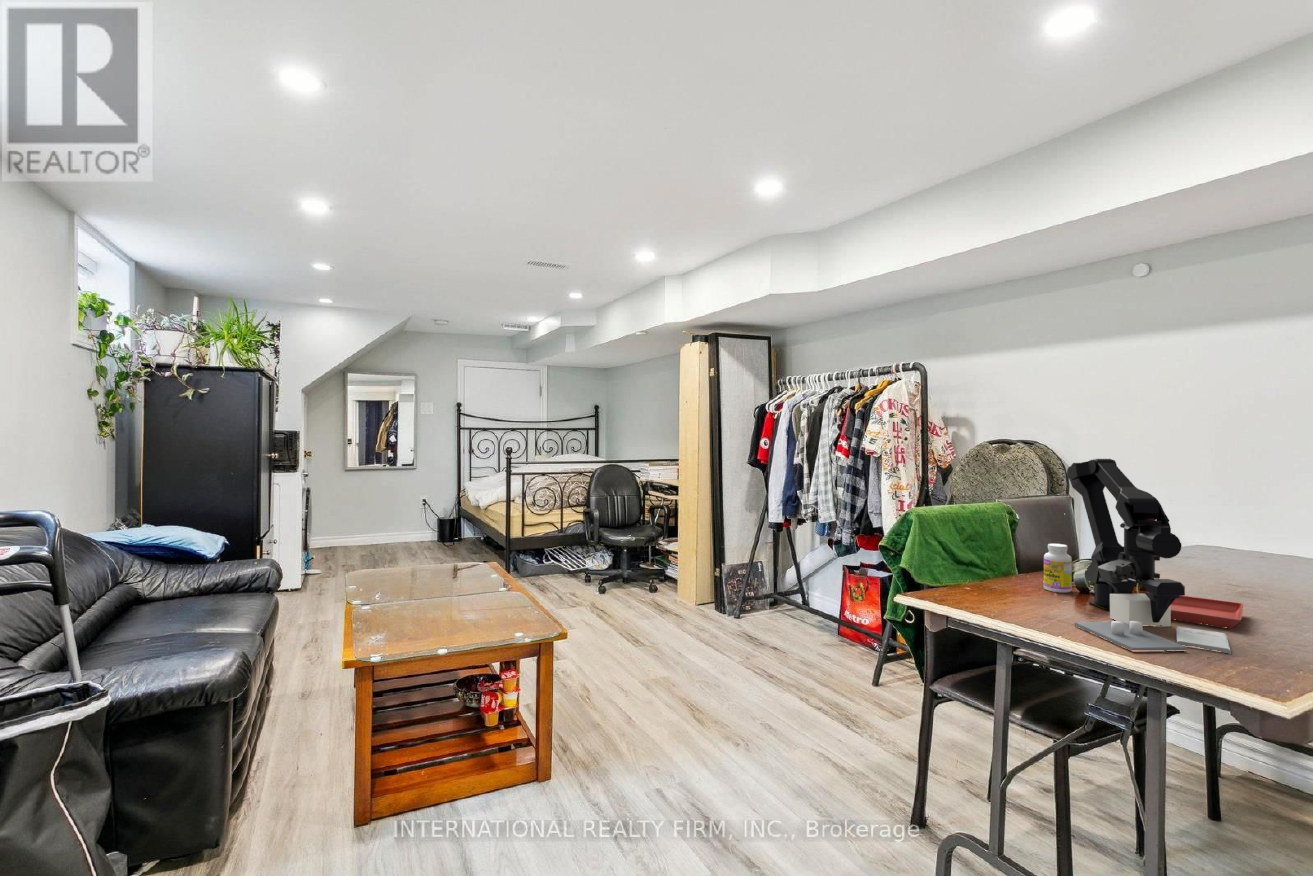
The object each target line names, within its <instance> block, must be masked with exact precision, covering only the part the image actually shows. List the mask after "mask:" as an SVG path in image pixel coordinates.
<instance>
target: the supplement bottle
mask: <svg viewBox="0 0 1313 876" xmlns="http://www.w3.org/2000/svg"><path fill="white" fill-rule="evenodd" d="M1047 550H1048V552H1045V554H1044V555H1043V588H1044V589H1045V590H1047V591H1049V592H1054V593H1061V594H1062V593H1063V594H1064V593H1065V594H1066V593H1070V592H1072V587H1073V585H1072V581H1073V580H1072V579H1073V578H1072V577H1073V574H1072V572H1073V571H1072V570H1073V568H1072V567H1073V566H1072V565H1073V563H1072V562H1073V561H1072V556H1071V555H1069V553H1068V545H1067V544H1063V543H1062V544H1061V543H1048V544H1047Z"/></svg>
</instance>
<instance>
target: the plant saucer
mask: <svg viewBox="0 0 1313 876" xmlns="http://www.w3.org/2000/svg"><path fill="white" fill-rule="evenodd" d="M1147 593H1149V592H1147ZM1243 611H1244V603H1241V602H1235V601H1227V600H1218V599H1211V598H1203V597H1196V596H1188V595H1183V596H1180V598H1176V599H1175V600H1174V601H1173V603H1172V604H1171V619H1176V620H1181V621H1180V622H1182V621H1185V622H1184V623H1189V622H1191V623H1190V624H1195V623H1202V624H1208V625H1213V626H1212V627H1214V626H1218V627H1217V628H1220V627H1227V628H1231V629H1232V628H1234V627H1235V626H1237V624H1239V623H1240V621H1241V620H1242V617H1243ZM1176 620H1175V621H1176ZM1208 625H1207V626H1208ZM1227 628H1226V629H1227Z"/></svg>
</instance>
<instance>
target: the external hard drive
mask: <svg viewBox="0 0 1313 876" xmlns="http://www.w3.org/2000/svg"><path fill="white" fill-rule="evenodd" d="M1176 643H1177V644H1180V645H1185V646H1195V647H1200V648H1204V649H1209V650H1217V651H1221V652H1224V653H1229V654H1228V655H1231V653H1232V652H1231V648H1230V643H1229V641H1228V637H1227V634H1226V633H1223V632H1217V631H1212V630H1203V629H1197V628H1190V627H1184V626H1176ZM1224 653H1223V654H1224Z"/></svg>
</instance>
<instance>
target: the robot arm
mask: <svg viewBox="0 0 1313 876" xmlns="http://www.w3.org/2000/svg"><path fill="white" fill-rule="evenodd" d="M1066 470H1067V471H1066V475H1067V478H1068V480H1069V482H1070V484H1071V486H1072V489H1073V490H1074V491H1076V492H1077V493H1078V494H1080V495H1081V497H1082V500H1083V501H1082V502H1083V505H1084V509H1085V512H1086V516H1087V519H1088V523H1089V526H1090V530H1091V534H1092V537H1093V542H1094V544H1095V548H1094V550H1093V552H1092V554H1091V556H1090V557H1091V559H1090V560H1091V562H1090V564H1089V565H1088V567H1087V569H1086V570H1085V578H1086V581H1087V582H1090V583H1092V584H1093V589H1094V590H1093V591H1094V593H1093V594H1094V595H1093V598H1094V600H1092V601H1091V600H1088V604H1090V605H1092V606H1094V607H1098V608H1100V609H1102V610H1107V611H1110V594H1133V591H1134V587H1135V584H1139V585H1142V586H1144V589H1145V590H1146V592H1144V594H1145V595H1146V596H1147V597H1148V598H1149V599H1150V603H1151V615H1152V621H1153V622H1154V623H1158V622H1159V621H1160V620H1161V618H1162V617H1163V615H1164V613H1165V612H1166V610H1167V609H1168V608H1169V606H1170V605H1171V604H1172V603H1173V601H1174V600H1175V599H1176V598H1180V596H1186V586H1185V585H1184V584H1183V583H1182V582H1180V581H1177V580H1173V579H1170V578H1161V574H1160V573H1158V572H1156V561H1157V562H1158V561H1161V558H1163V559H1172V558H1174V557H1176V556H1177V555H1179V553H1180V552H1181V550H1182V542H1181V540H1180V538H1179V537H1178V536H1176V534H1174V533H1172V528H1171V525H1170V519H1169V517H1168V516H1167V514H1166V512H1165V510H1164V508H1163V506H1162V505H1161V503H1160V501H1159V500H1158V499H1157V498H1156V497H1155V496H1154V495H1152V494H1151V493H1150V492H1148V491H1145V490H1142V489H1140V488H1138V487H1137V486H1135V485H1134V484H1133V482H1132V481H1131V480H1130V479H1129V478H1128V477H1127V476H1126V474H1125V473H1124V472H1123V471H1122V470H1121V469H1120V468H1119V467H1118V466H1117V462H1116V460H1114V459H1112V458H1093V459H1090V460H1088V461H1083V462H1073V463H1072V464H1071V465H1070V466H1069V467H1068V468H1067V469H1066ZM1105 488H1106V489H1107V490H1108V492H1109V494H1111V495H1112V497H1113V498H1114V499H1115V501H1116V504H1115V506H1114V508H1115V510H1116V512H1117V514H1118V515H1119V517H1120V518H1121V519H1122V521H1123V522H1121V523H1120V524H1119V527H1120V528H1123V545H1121V544H1120V542H1119V541H1118V537H1117V535H1116V530H1115V527H1114V523H1113V520H1112V518H1111V517H1112V516H1111V514H1110V513H1111V512H1110V511H1109V507H1108V503H1107V499H1106V495H1105V493H1104V489H1105ZM1148 592H1149V593H1148Z"/></svg>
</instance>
